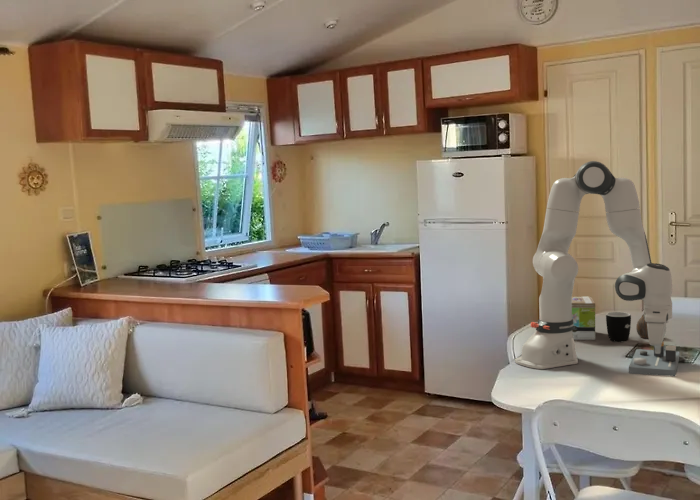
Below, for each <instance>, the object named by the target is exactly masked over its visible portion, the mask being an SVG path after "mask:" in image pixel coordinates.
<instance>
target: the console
mask: <svg viewBox="0 0 700 500" xmlns="http://www.w3.org/2000/svg"><path fill="white" fill-rule="evenodd" d="M680 355H681V354H680V351H676V361H667V360H666V350H664V356H654V349H641V348H640V349H639V348H636V350H635V352H634V354H633V356H632V358H631V361H630V363H629V365H628V374H635V375H637V374H638V375H639V374H640V375H648V376H649V375H651V376H666V377H667V376H668V377H676V375H677V372H678V371H677V370H678V365H679V362H680V358H679V357H680Z"/></svg>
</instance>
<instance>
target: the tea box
mask: <svg viewBox="0 0 700 500" xmlns="http://www.w3.org/2000/svg"><path fill="white" fill-rule="evenodd" d="M572 319H573V324H574V325H573V330H572V332H573V338H574V341H575V340H576V341H579V340H580V341H581V340H582V341H591V340H593V341H594V340H596V302H595V301H594V299H593V298H592V296H572Z"/></svg>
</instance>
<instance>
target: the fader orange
mask: <svg viewBox="0 0 700 500" xmlns="http://www.w3.org/2000/svg"><path fill="white" fill-rule="evenodd" d="M653 350H654V356H664V351H665V341H663V342H662V345H661V353H660V354H656V353H655V347H654V346H653Z"/></svg>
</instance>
